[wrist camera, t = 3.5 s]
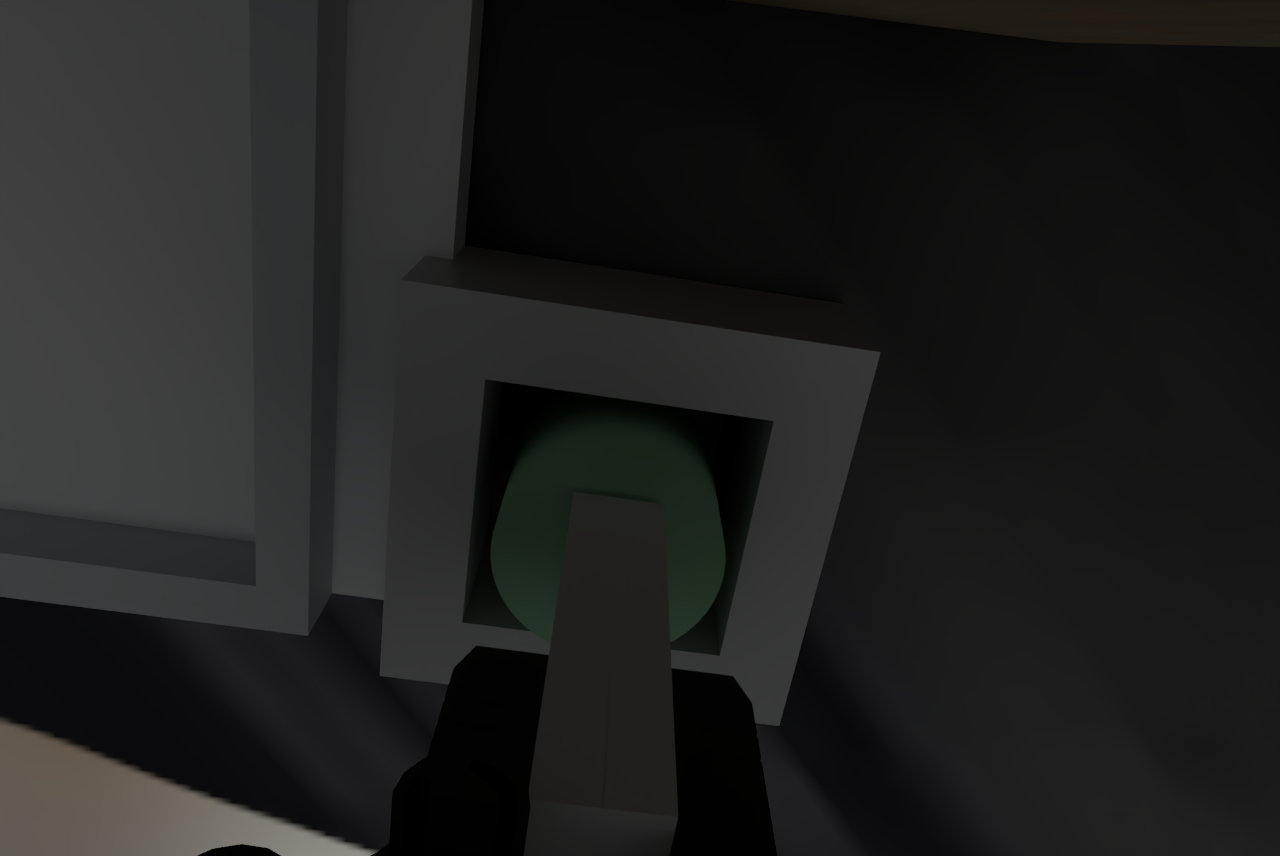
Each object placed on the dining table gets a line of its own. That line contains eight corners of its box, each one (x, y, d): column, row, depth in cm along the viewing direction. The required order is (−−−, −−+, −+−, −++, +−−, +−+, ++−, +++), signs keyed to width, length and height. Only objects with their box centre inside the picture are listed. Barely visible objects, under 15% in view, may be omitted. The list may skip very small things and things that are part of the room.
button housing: (438, 241, 18) (400, 280, 15) (844, 303, 18) (880, 352, 15) (414, 590, 21) (379, 675, 18) (761, 636, 21) (779, 726, 19)
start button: (526, 366, 18) (501, 437, 15) (728, 396, 18) (746, 472, 15) (506, 544, 19) (480, 641, 16) (692, 568, 20) (702, 670, 17)
